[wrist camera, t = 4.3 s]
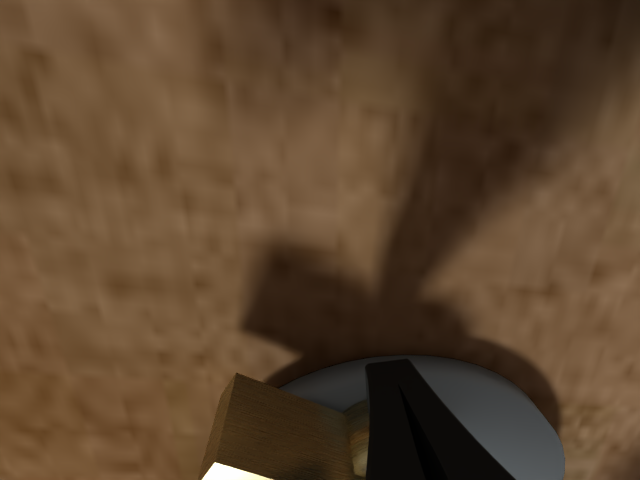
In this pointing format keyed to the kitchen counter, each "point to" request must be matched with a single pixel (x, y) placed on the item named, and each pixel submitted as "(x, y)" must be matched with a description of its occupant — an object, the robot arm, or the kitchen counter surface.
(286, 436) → the knob
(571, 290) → the kitchen counter surface
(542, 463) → the plate
